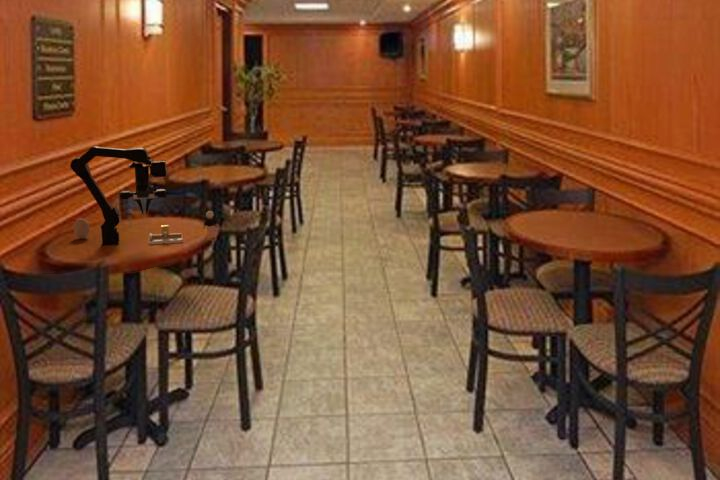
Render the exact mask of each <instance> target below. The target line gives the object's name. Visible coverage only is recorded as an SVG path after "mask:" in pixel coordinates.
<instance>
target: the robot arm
mask: <svg viewBox="0 0 720 480" xmlns="http://www.w3.org/2000/svg"><path fill="white" fill-rule="evenodd" d="M96 157H99V158H100V157H102V158H114V159H115V158H116V159H125V160H129V161H131V162H132V163H131V164H130V166H129V168H130V169H134V176H135V177H134V181H135V192H134V191H133V192H131V191H130V190H122V191H121V192H120V193H119V197H120V200H129V199H130V198H131V197H132V198H133V199H132V200H133V201H135V202H136V203H137V205H138V207H139V209H140V212H141V214H142V215H144V207H143V202H142V198H146V202H145V203H146V204H145V214H146V215H148V211H149V208H150V204H151V203H152V201H154V200H155V197H157V198H159V199H162V198H167V190H166V189H165V188H164V189H163V188H160V189H156V191H154V185H151V184H150V183H151V182H150V176H152V177H153V178H167V177H168V168H167V163H166V160H163V161H153V159H152V158H151V157H150V156H149V152H148V150H147V149H145V148H144V147H132V148H116V147H115V148H114V147H103V146H95V145H94V146H92V147H89V149H88V150H87V151H86V152H85V153H84V154H82V155H81V156H76V157H75V158H73V159H72V160H71V162H70V165H69V166H70V169H71V170H72V171H73V172H74V174H75V175H76V176H78V178H79V179H80V180H81V181H83V183H84V184H85V186H86V188H87V189H88V191H89V192H90V194H91V195H92V197H93V198H94V200H95V202H96V203H97V205H98V207H99V208H100V210H101V214H102V217H103V219H104V221H103V223H102V224H101V225H100V229H101V232H100V233H101V241H102V243H101V245H102V246H106V245H107V246H110V245H118V244H119V243H120V241H121V239H120V231H119V230H118V227H117V226H118V225H119V223H120V222H121V221H122V212H121V211H120V210H119V208H118V206H117V205H114V206H113V205H112V204H111V203H110V202H109V200H108V198H107V197H106V196H105V193H104V192H103V191H102V189H101V187H100V186H99V184H98V182H97V181H96V180H95V178H94V176H93V175H92V172H91V169H90V166H89V163H90V162H91V161H92V160H93V159H94V158H96Z"/></svg>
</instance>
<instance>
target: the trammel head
mask: <svg viewBox="0 0 720 480" xmlns="http://www.w3.org/2000/svg"><path fill="white" fill-rule="evenodd" d="M169 226H170V225H169V224H163V225H162V224H161V226H160V228H161V234H162V235H163V234H165V239H166V234H170V230H169V229H170V228H169Z"/></svg>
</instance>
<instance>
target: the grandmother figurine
mask: <svg viewBox="0 0 720 480" xmlns="http://www.w3.org/2000/svg"><path fill="white" fill-rule="evenodd" d="M214 215H215V214H214V212H213V211H212V210H208V211H207V212H206V213H205V216H206V218H207V220H205V221H204V223H203V225H202V229H203V230H204V229H206V230H207V234H206V235H207V239H206V241H216V240H217V232H216V228H219V227H220V225H219V224H218V221H217V220H216V219H215V218H213V217H214ZM215 226H216V227H215Z"/></svg>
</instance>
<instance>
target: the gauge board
mask: <svg viewBox="0 0 720 480" xmlns="http://www.w3.org/2000/svg"><path fill="white" fill-rule="evenodd" d="M183 239H184V238H183V233H182V232H177V233H175V232H174V233H173V232H172V233H169V234H166V239H165V234H163V235H162V233H161V234H160V233H159V234H153V232H152V233H149V237H148V245H161V244H163V243H165V244H178V243H181V242H182V243H184V241H183ZM182 243H181V244H182Z"/></svg>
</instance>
